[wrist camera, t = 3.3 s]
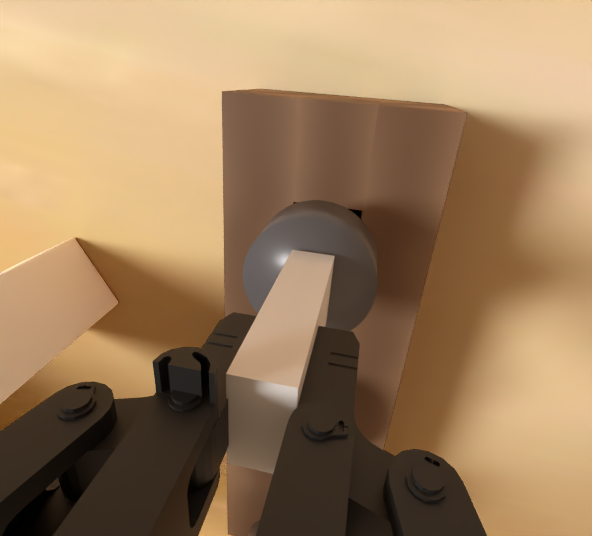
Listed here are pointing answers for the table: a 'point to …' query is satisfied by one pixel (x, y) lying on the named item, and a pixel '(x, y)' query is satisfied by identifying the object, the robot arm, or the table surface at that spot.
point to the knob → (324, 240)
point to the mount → (352, 195)
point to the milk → (46, 310)
